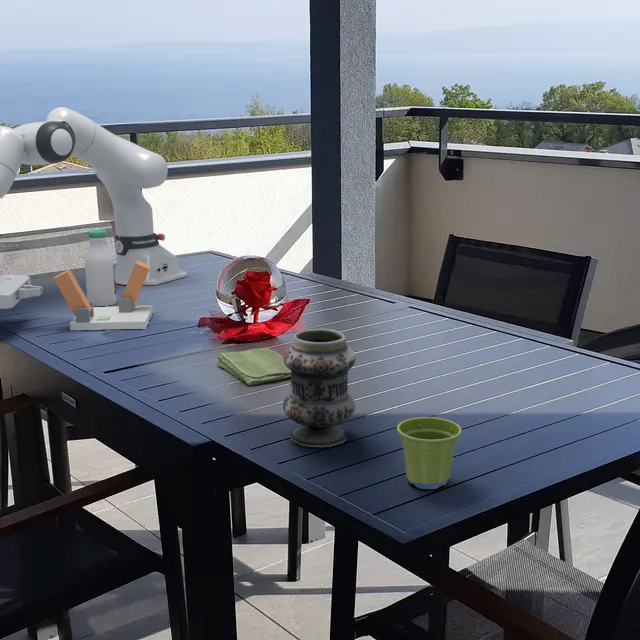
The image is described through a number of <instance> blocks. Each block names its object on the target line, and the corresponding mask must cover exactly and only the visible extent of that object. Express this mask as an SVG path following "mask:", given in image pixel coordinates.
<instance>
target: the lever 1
mask: <svg viewBox="0 0 640 640" xmlns="http://www.w3.org/2000/svg"><path fill="white" fill-rule="evenodd" d="M53 281H54V282H55V283H56V286H57V287H58V290H59V291H60V293H61V294H62V296H63V297H64V299H65V301H66V303H67V305H68V306H69V308H70V310H71V312H72V313H73V315H74V316H75V308H89V312H90V311H91V310H92V307H91V305H90V304H89V302H88V300H87V296H86V295H85V292H84V291H83V289H82V288H81V286H80V285H79V283H78V281H77V279H76V278H75V275H74V274H73V272H72V270H71V268H69V269H67V270H65V271H63V272H61V273H59V274H57V275H56V276H55V277H53Z"/></svg>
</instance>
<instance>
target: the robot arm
mask: <svg viewBox="0 0 640 640" xmlns="http://www.w3.org/2000/svg"><path fill="white" fill-rule="evenodd" d="M71 156H73V157H74V158H76V159H77V160H79V161H81V162H83V163H85V164H86V165H88V166H90V167H91V168H93V169H94V172H95V175H96V177H97V178H98V179H99V181H101V182H102V183H103V186H104V187H105V189H106V191H107V193H108V196H109V198H110V201H111V205H112V209H113V214H114V226H115V234H114V248H115V254H116V258H115V260H116V261H115V262H116V263H115V280H116V284H119V285H126V286H127V283H128V281H129V278H130V276H131V273H132V271H133V269H134V266H135V264H136V262H137V261H140V262H142V263H144V264H147V265H149V266H151V267H150V269H149V272H148V274H147V276H146V279H145V281H144V284H143V285H144V286H145V285H147V286H156V285H160V284H163V283H167V282H171V281H174V280H178V279H181V278H185V277H187V276H188V273H187V272H186V271H185V270H182V269H180V266H179V261H178V258H177V257H176V255H175V254H173V253H172V252H171V251H169V250H167V248H165V247H163V246H162V245H161V244H160V242H159V241H162V242H163V241H165V240H166V235H165V234H164V233H158V234H157V233H156V232H154V219H153V218H154V217H153V215H154V213H153V207H152V205H151V204H150V203H149V202H148V200H147V199H146V198H145V197H144V194H143V192H142V189H143V190H144V189H151V188H156V187H160V186H161V185H163V183H165V182H166V179H167V178H168V172H169V170H168V169H169V168H168V163H167V161H166V159H165V157H163V156H162V155H161V154H159V153H157V152H155V151H151V150H149V149H147V148H144V147H143V146H140V145H138V144H136V143H134V142H133V141H132V142H131V141H130V140H127V139H126V138H123V137H120V136H118V135H117V134H114V133H112V132H111V131H109V130H107V129H106V128H104V127H103V126H101V124H100V125H99V124H98V123H97V122H95V121H94V120H92V119H90V118H89V117H87V116H86V115H84V114H82V113H80V112H78V111H75V110H73V109H71V108H67V107H65V106H59V107H56V108H53V110H51V111H50V112H49V113H48V114H47V116H46V118H45V121H37V122H36V121H35V122H30V123H25V124H17V125H14V126H12V127H9V126H3V125H0V200H1V199H3V198H4V197H5V196H6V195H7V193H8V192H9V190H10V189H11V188H12V186H13V184H14V181H15V179H16V176H17V174H18V173H19V170H20V168H21V166H44V165H50V164H59V163H62V162H64V161H66V160H68V159H69V158H70V157H71ZM43 293H44V288H43V286H39V285H32V280H31V277H30V276H28V275H23V274H22V275H21V274H0V310H3V309H4V310H7V309H8V310H9V309H13V308H14V306H16V305H17V304H18V303H19V302H20V301H21V300H22V299H27V298H31V297H40V296H41V295H42V294H43Z"/></svg>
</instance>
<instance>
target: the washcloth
mask: <svg viewBox="0 0 640 640" xmlns="http://www.w3.org/2000/svg"><path fill="white" fill-rule="evenodd" d="M216 364H217V366H218V367H219V368H222V369H223V370H224V371H225V372H227V373H229V374H230V375H232V376H235V377H236V378H238V379H240V380H241V381H243V382H244V383H245V384H247V385H249V386H251V387H252V386H255V385H260V384H263V383H269V382H274V381H279V380H283V379H287V378H291V370H290V369H289V368H287V366H286V365H285V363H284V355H281V354H280V353H279V352H277V351H276V350H273V349H271V348H270V347H261V348H260V347H259V348H251V349H247V350H241V351H228V352H220V353H219V354H218V356H217V361H216Z"/></svg>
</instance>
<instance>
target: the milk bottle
mask: <svg viewBox="0 0 640 640" xmlns="http://www.w3.org/2000/svg"><path fill="white" fill-rule="evenodd" d="M87 235H88V240H89V247H88V250H87V252H86V256H85V259H84V271H85V272H84V273H85V286H86V298H87V300H88V302H93V307H94V306H105V307H110V306H109V305H111V306H115V305H116V304H117V302H118V299H117V285H116V284H117V283H116V280H115V270H116V267H115V262H114V257H113V255H112V252H111V250H110V248H109V246H108V244H107V231H106V230H105V229H92V230H89V231H88V234H87Z"/></svg>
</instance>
